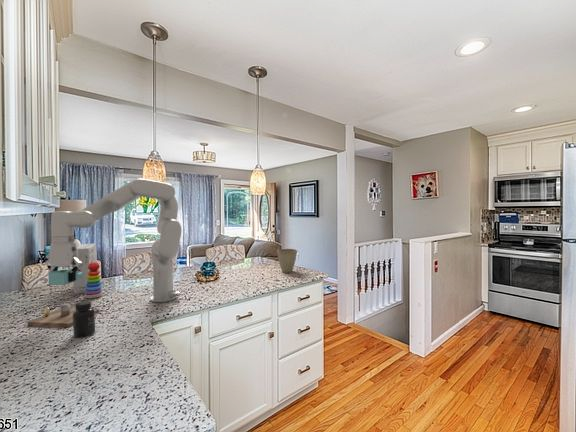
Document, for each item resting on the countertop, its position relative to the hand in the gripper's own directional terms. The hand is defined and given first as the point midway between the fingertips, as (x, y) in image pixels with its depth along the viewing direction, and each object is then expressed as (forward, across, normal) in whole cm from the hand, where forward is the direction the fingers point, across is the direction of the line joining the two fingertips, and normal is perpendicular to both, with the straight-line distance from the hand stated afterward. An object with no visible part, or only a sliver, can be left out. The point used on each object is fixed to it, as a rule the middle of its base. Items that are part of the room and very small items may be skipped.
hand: (63, 280), depth 120 cm
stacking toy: (+17, +10, -28) cm, 34 cm away
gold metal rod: (+15, +7, +1) cm, 17 cm away
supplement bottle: (+17, -20, +13) cm, 29 cm away
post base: (+17, 0, 0) cm, 17 cm away
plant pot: (+15, -89, -94) cm, 131 cm away
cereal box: (+17, +27, -43) cm, 54 cm away
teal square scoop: (+1, 0, -3) cm, 3 cm away
